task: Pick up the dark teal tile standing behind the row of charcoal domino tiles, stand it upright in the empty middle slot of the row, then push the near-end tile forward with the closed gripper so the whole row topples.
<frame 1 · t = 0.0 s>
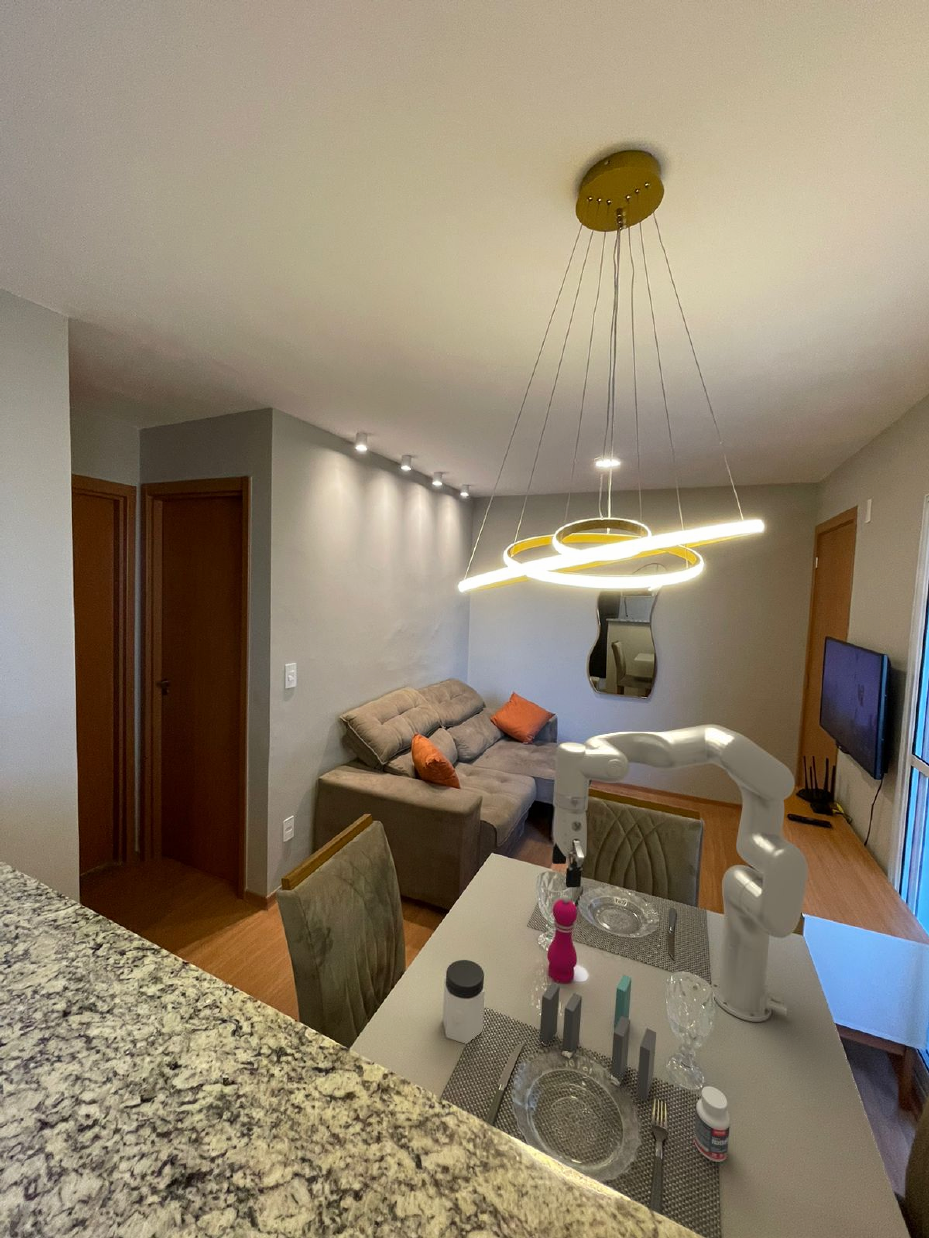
hand: (565, 874, 116), 31 cm above the table, tool pointing down, fingers open, 9 cm apart
jar: (462, 1027, 111), on the table
pepper mill: (560, 974, 128), on the table
pill bottle: (710, 1147, 89), on the table
domino 1: (644, 1089, 99), on the table
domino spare: (621, 1026, 113), on the table
domino 5: (548, 1036, 110), on the table
domino 2: (618, 1074, 101), on the table
domino 4: (570, 1048, 107), on the table
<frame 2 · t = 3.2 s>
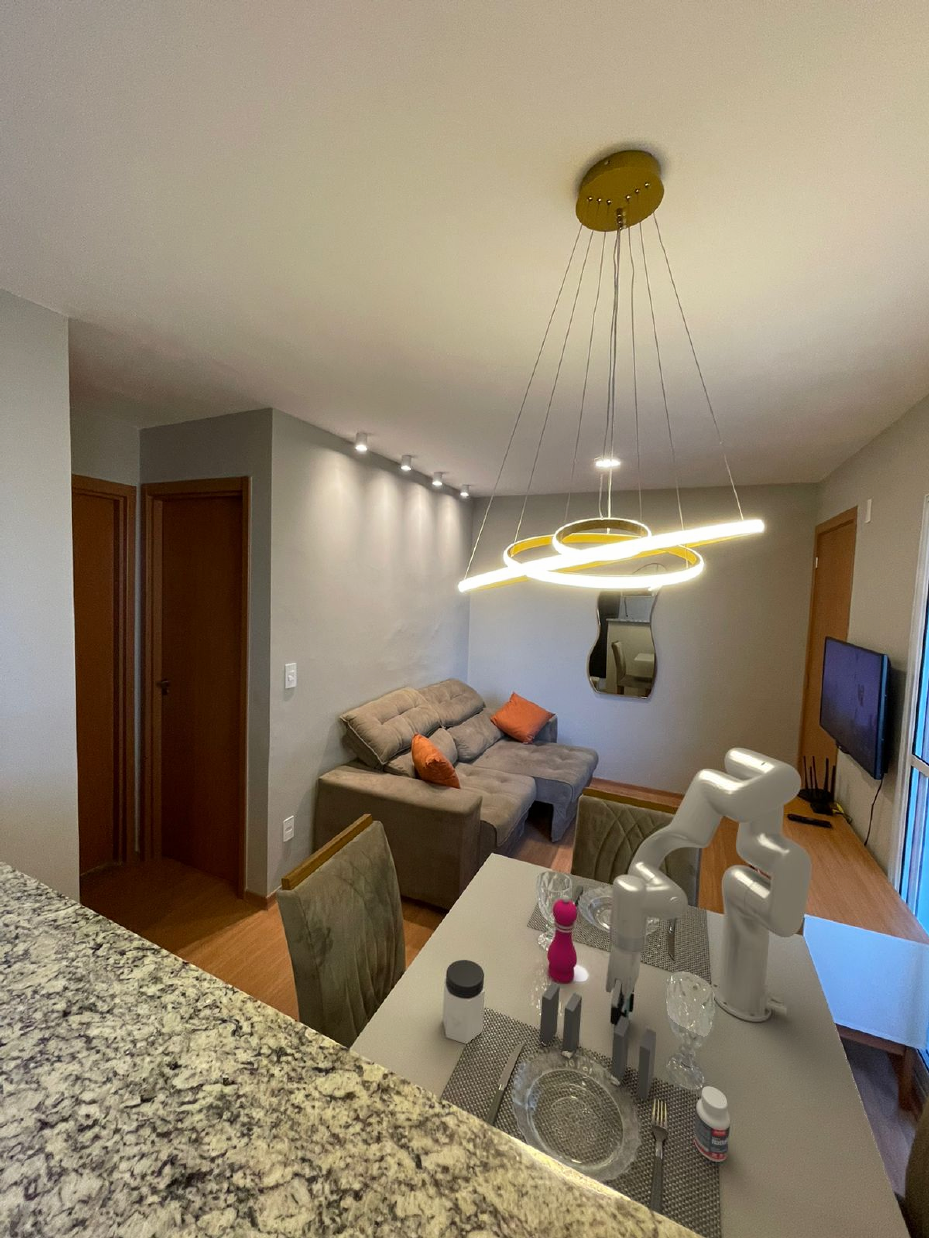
hand: (621, 1015, 113), 2 cm above the table, tool pointing down, fingers closed on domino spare, 4 cm apart
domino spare: (621, 1026, 113), on the table, touching gripper
everything else where it was.
when the fingers open (3 cm above the table, at t = 9.2 s): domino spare stays where it is, on the table.
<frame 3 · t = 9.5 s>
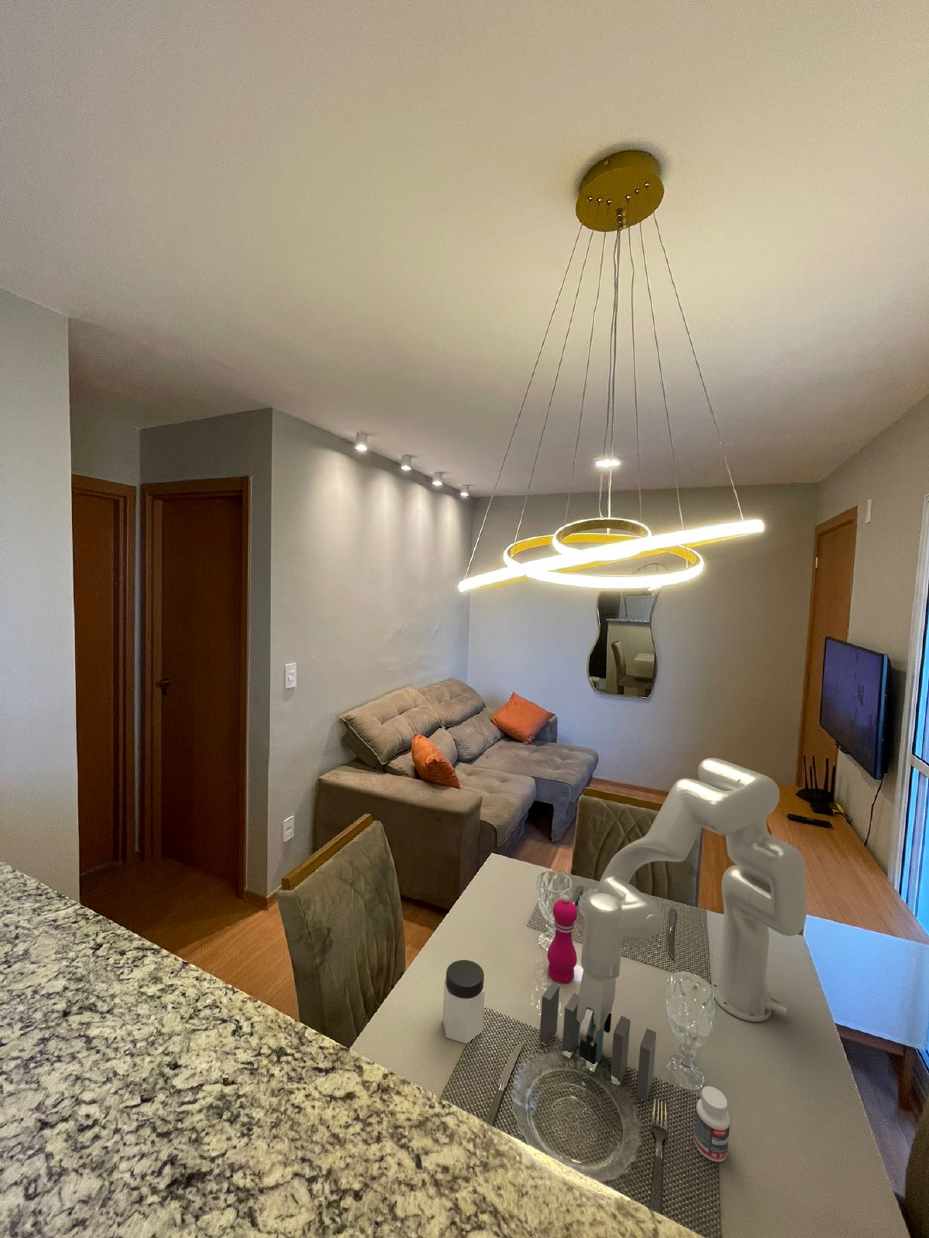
hand: (595, 1043, 104), 4 cm above the table, tool pointing down, fingers open, 8 cm apart
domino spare: (593, 1061, 104), on the table
everything else where it was.
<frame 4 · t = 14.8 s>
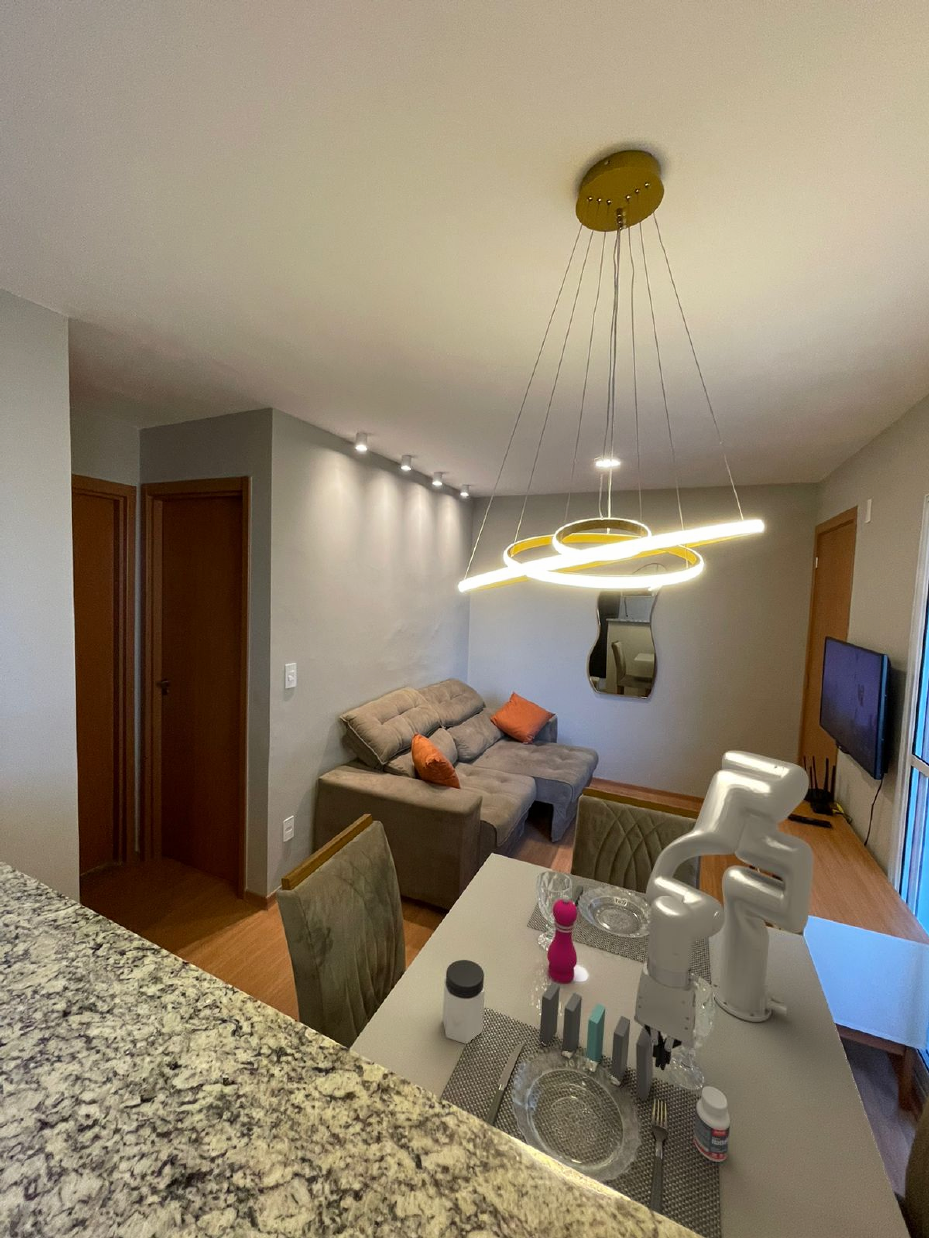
hand: (661, 1063, 97), 7 cm above the table, tool pointing down, fingers closed
domino 1: (644, 1089, 99), on the table, touching gripper
everything else where it was.
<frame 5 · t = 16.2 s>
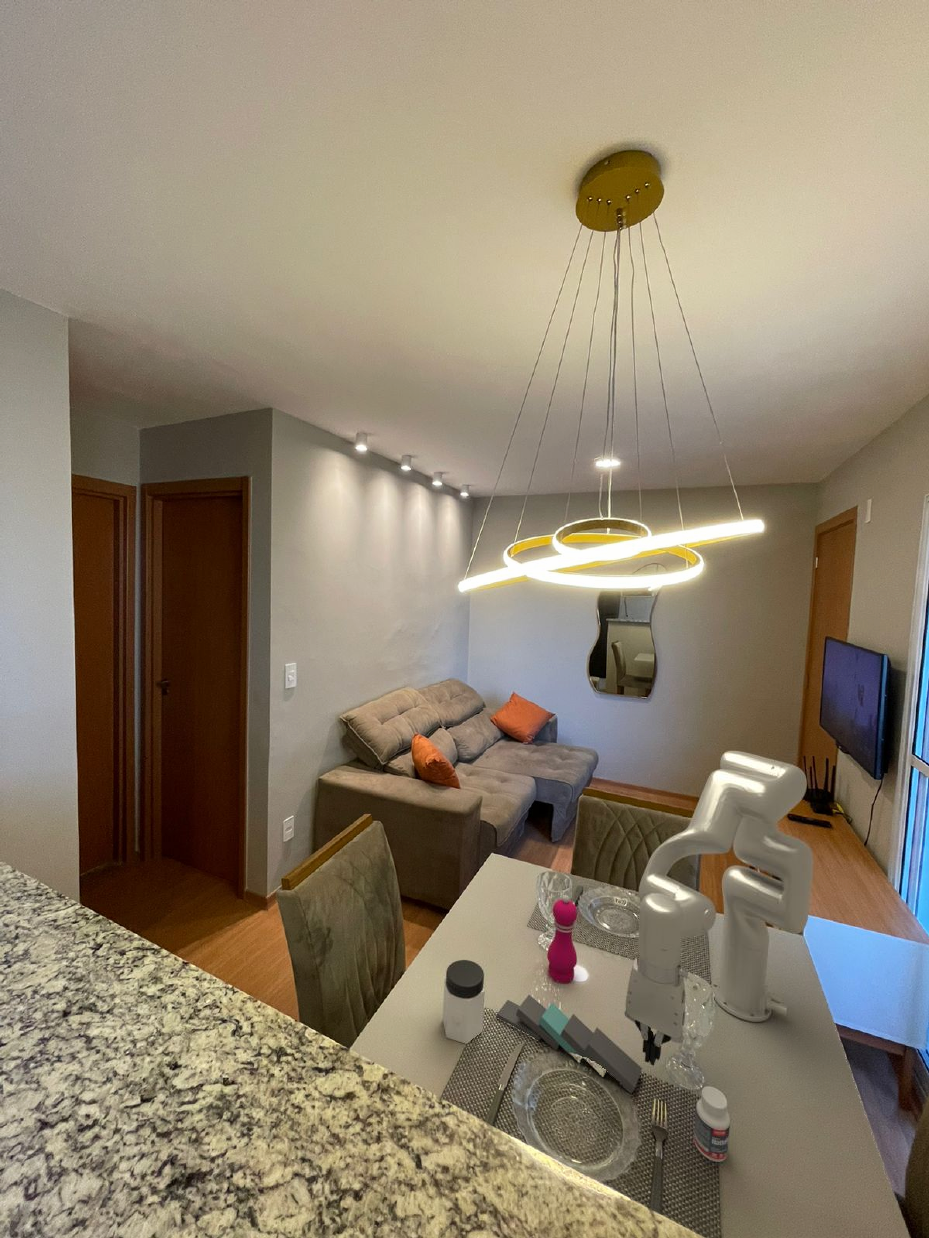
hand: (651, 1058, 98), 7 cm above the table, tool pointing down, fingers closed
domino 1: (636, 1081, 99), point 1 cm above the table, tilted 69°
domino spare: (585, 1052, 105), point 1 cm above the table, tilted 69°, touching domino 2, domino 4
domino 5: (543, 1032, 110), on the table, tilted 90°, touching domino 4
domino 2: (609, 1065, 102), point 1 cm above the table, tilted 69°, touching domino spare
domino 4: (562, 1038, 108), point 1 cm above the table, tilted 75°, touching domino 5, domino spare
everything else where it was.
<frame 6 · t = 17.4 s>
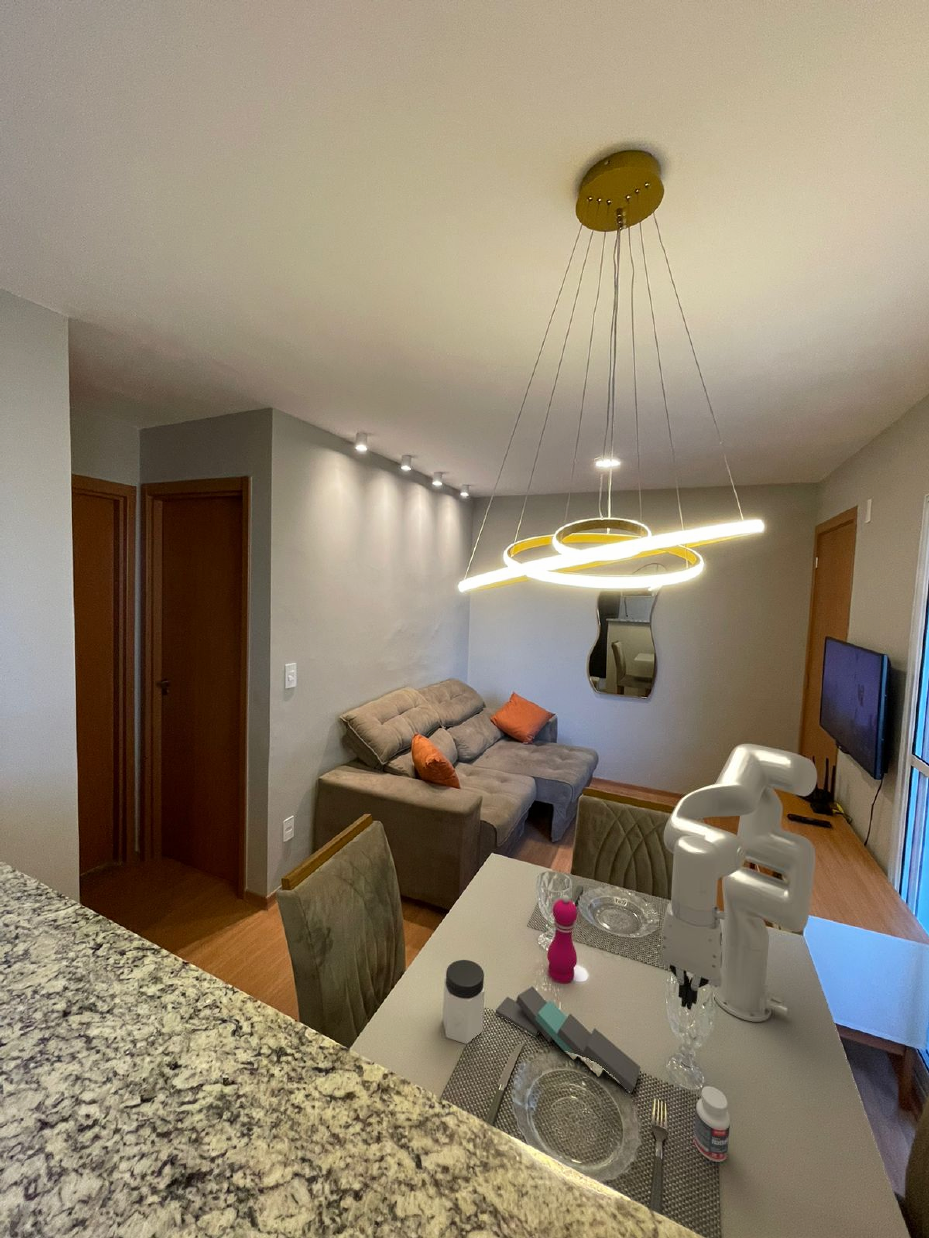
hand: (687, 1002, 95), 19 cm above the table, tool pointing down, fingers closed
domino 1: (635, 1080, 99), point 1 cm above the table, tilted 71°, touching domino 2
domino 5: (541, 1030, 111), on the table, tilted 90°
domino 2: (605, 1065, 102), point 1 cm above the table, tilted 70°, touching domino 1, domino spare
domino 4: (557, 1033, 109), point 1 cm above the table, tilted 75°, touching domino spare
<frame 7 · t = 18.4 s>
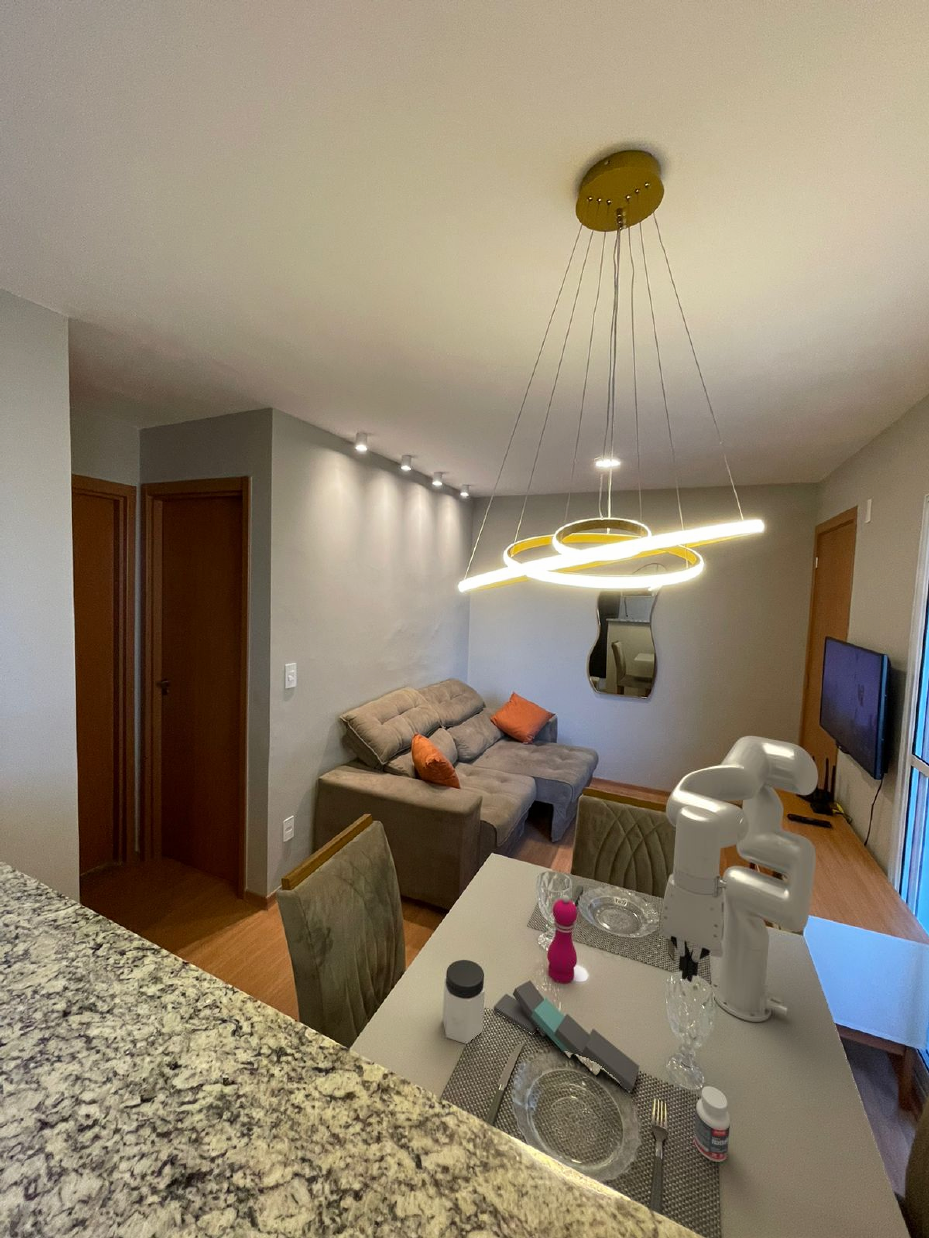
hand: (687, 975, 94), 25 cm above the table, tool pointing down, fingers closed
domino 1: (634, 1079, 100), point 1 cm above the table, tilted 72°
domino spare: (577, 1047, 106), point 1 cm above the table, tilted 71°, touching domino 4
domino 2: (603, 1064, 102), point 1 cm above the table, tilted 71°
domino 4: (552, 1028, 110), point 1 cm above the table, tilted 71°, touching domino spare
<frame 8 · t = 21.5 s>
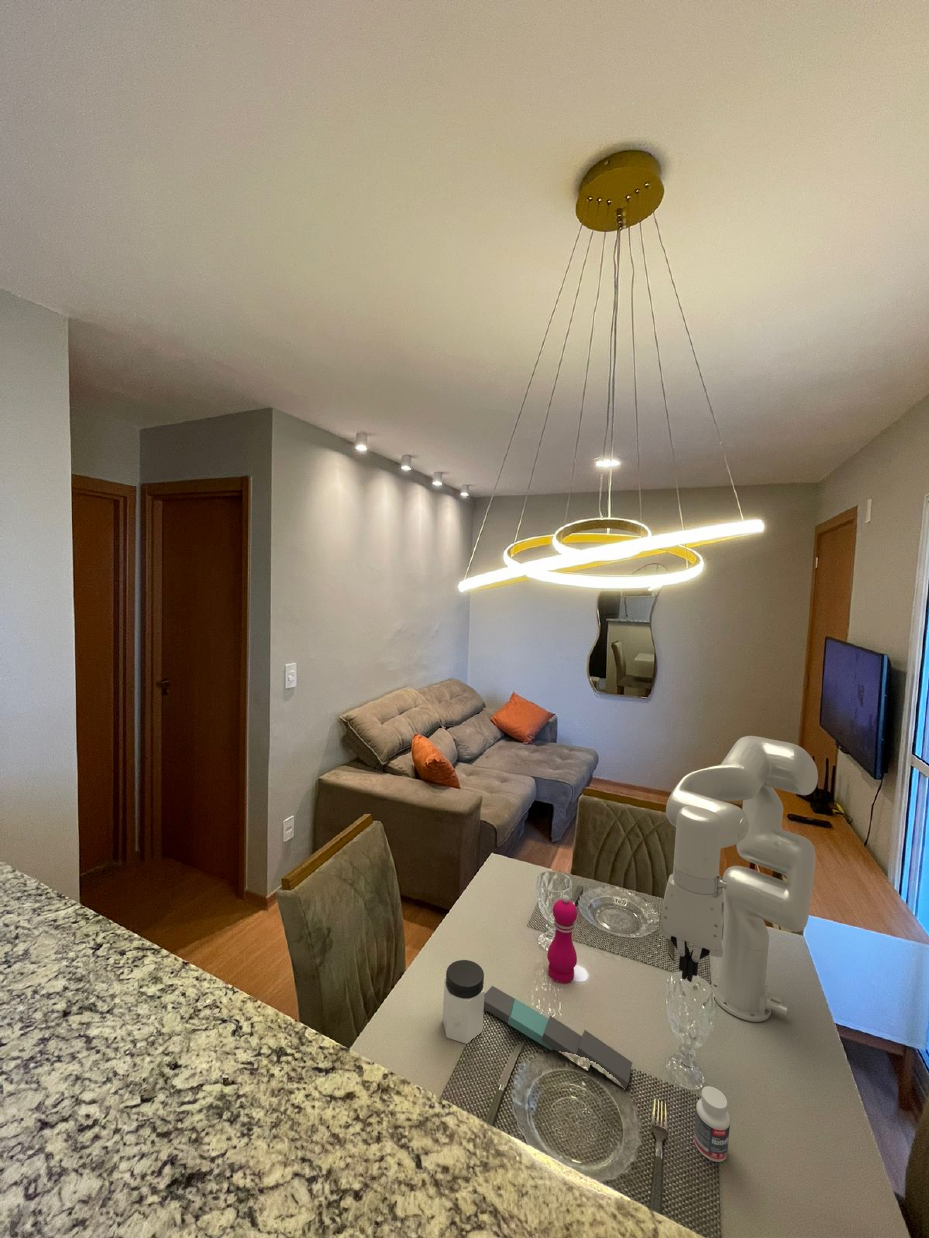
hand: (687, 975, 94), 25 cm above the table, tool pointing down, fingers closed
domino 1: (628, 1075, 100), point 1 cm above the table, tilted 75°, touching domino 2
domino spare: (555, 1037, 108), point 1 cm above the table, tilted 72°, touching domino 2, domino 4
domino 5: (529, 1026, 112), on the table, tilted 90°, touching domino 4
domino 2: (591, 1058, 104), point 1 cm above the table, tilted 75°, touching domino 1, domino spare
domino 4: (524, 1018, 112), point 2 cm above the table, tilted 90°, touching domino 5, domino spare
everything else where it was.
at the end: domino 5 tilted 90°; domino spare tilted 69°; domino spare inside the target area (0.5 cm from its centre), point 1.0 cm above the table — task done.
